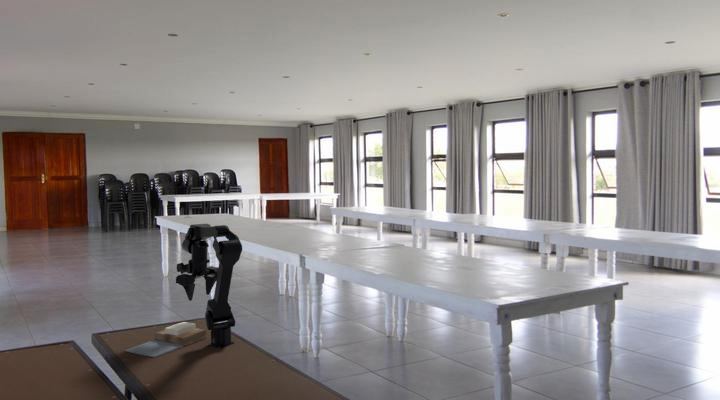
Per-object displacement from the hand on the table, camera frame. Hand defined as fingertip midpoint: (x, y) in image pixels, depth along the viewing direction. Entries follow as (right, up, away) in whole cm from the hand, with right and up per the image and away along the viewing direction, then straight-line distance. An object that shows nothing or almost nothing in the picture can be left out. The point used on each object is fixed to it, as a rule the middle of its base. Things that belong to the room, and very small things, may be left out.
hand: (199, 297), depth 217 cm
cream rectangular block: (-4, -11, -9) cm, 14 cm away
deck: (-4, -14, -8) cm, 17 cm away
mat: (-10, -15, -19) cm, 26 cm away
